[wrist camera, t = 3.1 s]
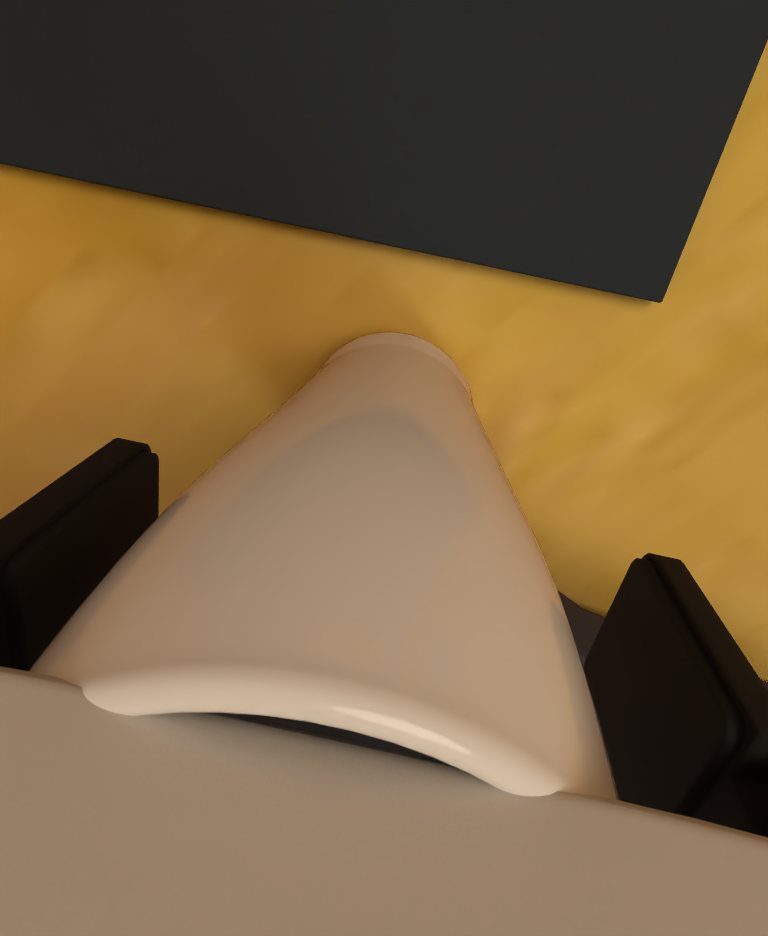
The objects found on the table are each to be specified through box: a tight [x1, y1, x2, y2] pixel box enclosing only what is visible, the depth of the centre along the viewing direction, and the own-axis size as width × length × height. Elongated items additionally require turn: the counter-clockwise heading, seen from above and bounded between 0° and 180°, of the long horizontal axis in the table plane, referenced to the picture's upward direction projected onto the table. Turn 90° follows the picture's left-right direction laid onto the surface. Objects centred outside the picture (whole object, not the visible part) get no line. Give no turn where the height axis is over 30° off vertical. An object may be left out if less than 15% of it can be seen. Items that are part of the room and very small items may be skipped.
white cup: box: [29, 332, 620, 801], centre depth 12 cm, size 7×7×15 cm
